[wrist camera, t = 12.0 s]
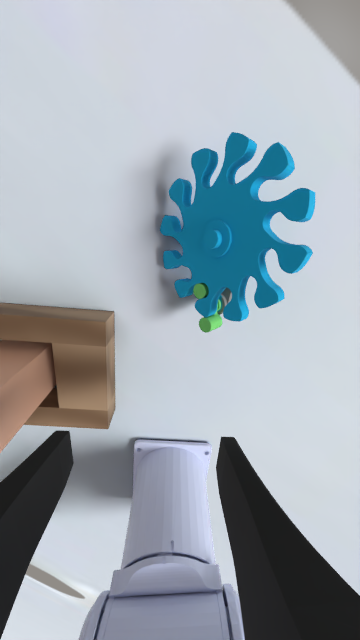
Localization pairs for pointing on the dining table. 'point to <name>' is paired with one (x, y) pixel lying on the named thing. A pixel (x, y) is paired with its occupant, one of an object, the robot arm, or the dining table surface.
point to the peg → (23, 383)
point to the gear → (233, 231)
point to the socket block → (70, 361)
